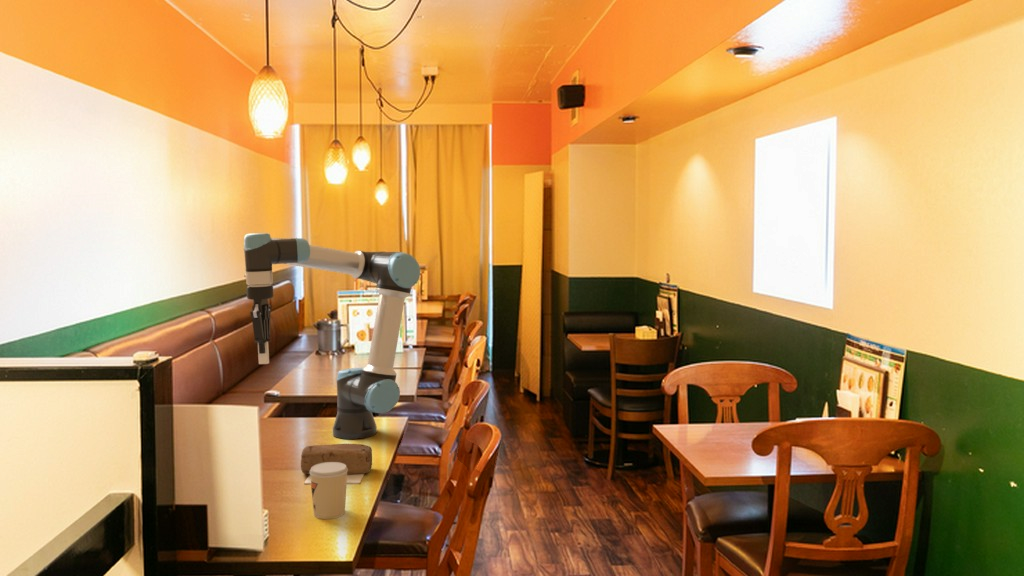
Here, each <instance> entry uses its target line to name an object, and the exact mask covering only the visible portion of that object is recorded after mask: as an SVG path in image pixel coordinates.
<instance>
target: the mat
mask: <svg viewBox="0 0 1024 576" xmlns="http://www.w3.org/2000/svg"><path fill="white" fill-rule="evenodd" d="M365 474H366V473H360V474H347V484H348V485H349V484H350V485H351V484H352V485H359V484H361V482H362V480H363V478H364V476H365ZM303 484H304V485H311V476H310V474H308V477H307V478H306V479H305V480H304V483H303Z"/></svg>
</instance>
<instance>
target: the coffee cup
mask: <svg viewBox="0 0 1024 576" xmlns="http://www.w3.org/2000/svg"><path fill="white" fill-rule="evenodd" d="M347 471H348V468H347V467H346V465H345V464H343V463H339V462H325V463H320V464H316V465H314V466H312V467H311V470H310V474H309V475H310V476H311V484H310V487H311V498H312V499H311V500H312V510H313V515H314V517H315V518H317V519H322V520H331V519H336V518H340V517H342V516H343V515H345V513H346V498H347Z"/></svg>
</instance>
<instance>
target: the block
mask: <svg viewBox="0 0 1024 576" xmlns="http://www.w3.org/2000/svg"><path fill="white" fill-rule="evenodd" d="M325 462H339V463H343V464H345V465H346V467H347V468H348V471H347V474H360V473H365V474H367V473H370V471H371V470H372V466H373V449H372V447H371V446H370V445H366V444H360V443H331V444H321V445H318V444H317V445H308V446H307V445H306V446H305V447H304V448H303V449H302V451H301V459H300V470H301V472H302V474H304V475H310V470H311V467H312V466H314V465H316V464H320V463H325Z"/></svg>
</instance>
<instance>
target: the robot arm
mask: <svg viewBox="0 0 1024 576" xmlns="http://www.w3.org/2000/svg"><path fill="white" fill-rule="evenodd" d="M243 251H244V265H245V274H244V278H245V281H246V283H245V284H246V285H247V287H246V298H247V300H253V301H252V302H253V305H252V306H251V307H252V309H251V311H250V316H251V317H250V318H251V321H252V329H253V336H254V342H253V343H254V344H257V353H258V354H257V357H258V365H268V364H270V353H269V352H270V351H269V349H270V348H269V342H271V341H272V338H271V313H272V306H271V305H270V304H269V301H268V299H270V300H271V299H273V298H274V295H275V294H274V286H273V283H274V278H273V276H274V274H273V265H281V264H283V265H284V264H285V265H288V266H296V267H302V268H309V269H315V270H321V271H327V272H334V273H340V274H345V275H350V276H351V278H353V279H356V280H362V281H365V282H366V281H367V282H370V283H372V284H376V286H375V290H376V292H378V294H379V296H378V303H377V308H376V313H375V319H374V326H373V332H372V337H371V342H370V349H369V354H368V361H367V364H366V365H365V366H364V367H354V368H346V369H341V370H339V371H338V372H337V374H336V375H337V376H336V398H337V401H336V402H337V411H336V412H337V414H336V416H335V420H334V423H333V425H332V436H333V437H335V438H337V439H343V440H359V439H358V438H360V439H366V438H369V437H372V436H375V435H376V434H377V433H378V432H377V431H378V430H377V428H378V427H377V423H376V421H375V418H374V415H373V413H376V414H385V413H387V412H390V411H391V410H392V409H393V408H394V407H396V406H397V404H398V402H399V400H400V395H401V393H400V392H401V390H400V387H399V385H398V383H397V381H396V379H397V373H396V371H395V370H394V364H395V358H396V353H397V349H398V348H397V347H398V342H399V334H400V328H401V323H402V317H403V311H404V306H405V305H404V304H405V299H407V297H409V296H410V295H411V290H412V288H413V287H414V286H415V285H416V284H418V282H419V281H420V276H421V267H420V263H419V262H418V261H417V259H416V258H415V257H414V255H412V254H409V253H406V252H402V251H364V250H355V251H354V252H353V251H346V250H340V249H335V248H328V247H324V246H323V247H322V246H318V245H312V244H310V243H309V241H308V240H307V239H306V238H303V237H302V238H301V237H300V238H297V237H295V238H280V237H279V238H276V237H275V238H273V237H271V234H270V233H267V232H262V233H260V232H259V233H256V232H255V233H254V232H253V233H247V234H245V235H244V238H243ZM365 437H366V438H365Z"/></svg>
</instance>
